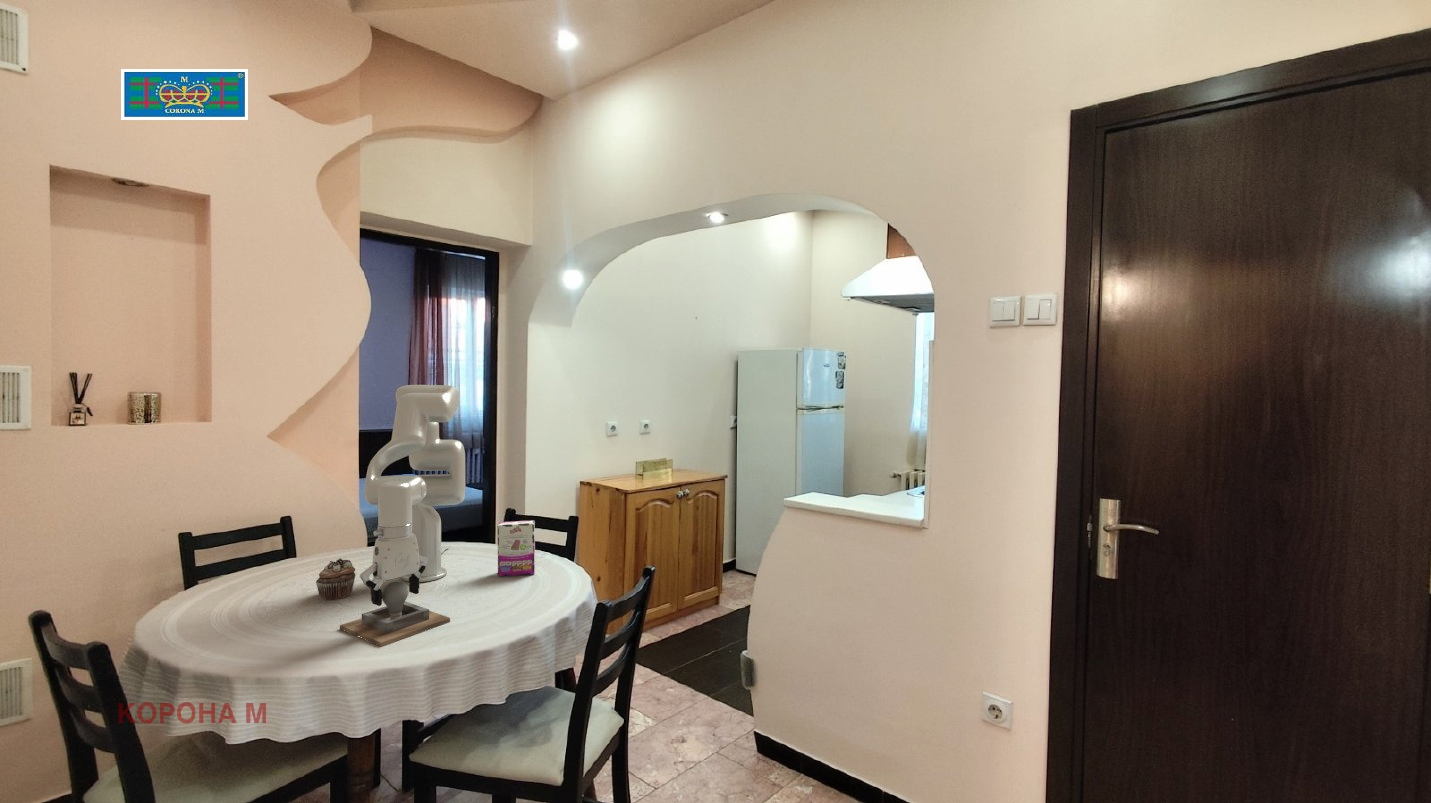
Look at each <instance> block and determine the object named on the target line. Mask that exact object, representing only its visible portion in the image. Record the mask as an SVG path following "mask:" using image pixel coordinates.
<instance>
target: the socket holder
mask: <svg viewBox="0 0 1431 803" xmlns="http://www.w3.org/2000/svg"><path fill="white" fill-rule="evenodd" d="M401 615H402V616H401V617H398V618H395V619H392V620H390V613H389V611H388V607H387V606H386V605H385V606H383V607H379V608H376V609H373V610H369V611H366V612H362V613H361V618H358V619H355V620H352V621H348V622H346V623H342V624H339V630H340V629H342V630H341V631H343V630H345V631H347V632H349V633H348V634H350V633H351V634H350V635H352V634H353V635H352V636H355V637H357V636H360V637H362V638H363V639H362V638H361V639H362V640H364V639H366V640H368V641H367V642H369V641H370V642H369V643H371V642H372V644H374V645H376V644H377V645H376V646H378V645H379V647H381V648H382V647H385V646H387V644H388V645H390V644H393V643H395V642H398V641H401V640H403V639H406V638H409V637H412V636H415V635H417V634H420V633H422V632H426V631H428V629H429V630H431V629H434V628H437V627H440V626H442V625H444V624H447V623H450V622H451V618H450V617H448V616H446V615H443V614H439V613H437V612H435V611H431V610H430V609H429V608H426V607H423V606H421V605H417V604H414V603H413V602H412V603H411V602H408V601H406V600H405V602H404V604H403V609H402V614H401ZM433 627H434V628H433ZM430 628H431V629H430ZM425 630H426V631H425ZM345 631H344V632H345ZM347 632H346V633H347ZM366 640H365V641H366ZM384 645H385V646H384Z"/></svg>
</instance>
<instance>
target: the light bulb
mask: <svg viewBox="0 0 1431 803" xmlns="http://www.w3.org/2000/svg"><path fill="white" fill-rule="evenodd" d="M408 596H409V587H407V585H406V584H405V583H404V582H402V581H398V580H397V581H391V582H389V583H387V584H386V585H385V587H383V589H382V603H384V605H385V606H387V607H388V611H389V613H390V620H392V619H395V618H398V617H401V616H402V615H401V614H402V609H403V604H404V602H405V601H406V600H407V598H408Z"/></svg>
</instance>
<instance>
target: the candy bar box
mask: <svg viewBox="0 0 1431 803" xmlns="http://www.w3.org/2000/svg"><path fill="white" fill-rule="evenodd" d="M535 523H536V522H535V520H518V521H514V520H513V521H500V522H498V524H497V576H498V577H499V576H500V577H513V576H525V575H526V576H530V574H532V575H535V570H536V539H535V538H536V535H535V534H536V533H535V531H536V530H535V525H536V524H535Z"/></svg>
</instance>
